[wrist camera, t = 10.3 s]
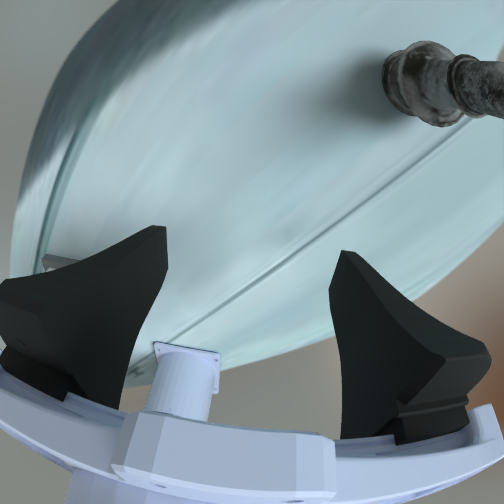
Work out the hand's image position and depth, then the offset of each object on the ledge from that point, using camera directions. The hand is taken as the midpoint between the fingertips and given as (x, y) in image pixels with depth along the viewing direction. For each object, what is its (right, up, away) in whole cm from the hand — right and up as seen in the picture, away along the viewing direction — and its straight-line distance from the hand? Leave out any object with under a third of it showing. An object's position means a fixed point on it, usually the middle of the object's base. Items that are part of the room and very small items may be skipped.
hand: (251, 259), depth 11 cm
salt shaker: (+12, +13, +4) cm, 18 cm away
